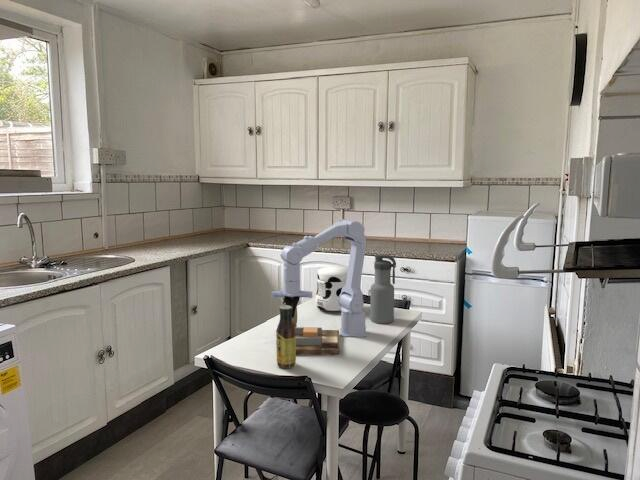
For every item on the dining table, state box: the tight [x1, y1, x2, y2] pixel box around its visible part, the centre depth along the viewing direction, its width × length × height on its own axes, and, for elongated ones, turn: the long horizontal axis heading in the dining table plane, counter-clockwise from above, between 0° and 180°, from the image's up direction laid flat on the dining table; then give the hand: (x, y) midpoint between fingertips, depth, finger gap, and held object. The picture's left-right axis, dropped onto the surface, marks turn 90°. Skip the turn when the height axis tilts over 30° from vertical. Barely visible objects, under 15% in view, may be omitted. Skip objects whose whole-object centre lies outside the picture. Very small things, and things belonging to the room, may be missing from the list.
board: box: [296, 329, 341, 356], centre depth 174 cm, size 20×20×2 cm
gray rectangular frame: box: [295, 326, 323, 345], centre depth 174 cm, size 14×12×2 cm
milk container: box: [315, 266, 348, 313], centre depth 216 cm, size 17×17×18 cm
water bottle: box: [369, 253, 397, 325], centre depth 199 cm, size 10×10×28 cm
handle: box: [292, 297, 298, 327], centre depth 191 cm, size 5×6×15 cm
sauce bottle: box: [275, 304, 297, 369], centre depth 154 cm, size 7×6×20 cm
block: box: [303, 328, 318, 337], centre depth 174 cm, size 5×5×4 cm
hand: (292, 316), depth 173 cm, fingers closed
